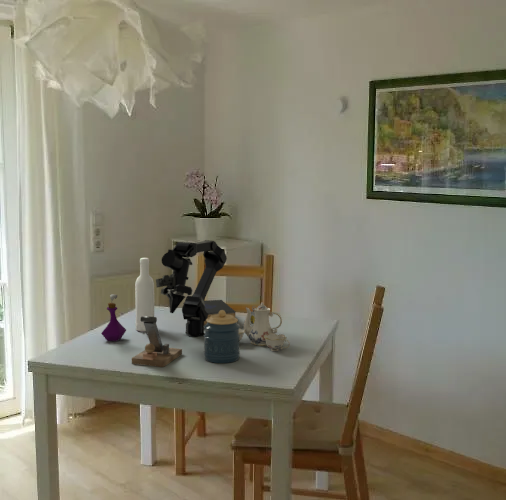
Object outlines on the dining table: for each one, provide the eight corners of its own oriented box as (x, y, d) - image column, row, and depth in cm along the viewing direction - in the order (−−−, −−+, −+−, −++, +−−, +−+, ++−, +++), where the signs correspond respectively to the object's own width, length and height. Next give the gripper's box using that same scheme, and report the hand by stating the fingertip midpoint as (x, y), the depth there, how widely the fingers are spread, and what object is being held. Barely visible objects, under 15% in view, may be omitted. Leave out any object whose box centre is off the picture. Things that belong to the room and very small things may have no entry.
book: (221, 313, 307) (221, 299, 306) (235, 326, 283) (235, 311, 283) (184, 315, 302) (184, 301, 301) (195, 329, 278) (196, 313, 278)
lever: (152, 347, 237) (142, 314, 228) (166, 348, 236) (156, 315, 226) (150, 351, 236) (140, 318, 226) (164, 353, 234) (153, 319, 225)
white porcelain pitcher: (236, 331, 274) (236, 307, 273) (243, 326, 282) (244, 303, 281) (254, 333, 271) (254, 309, 270) (261, 328, 279) (262, 305, 278)
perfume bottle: (119, 342, 255) (118, 297, 252) (101, 341, 256) (100, 296, 254) (126, 337, 262) (126, 293, 260) (109, 336, 264) (108, 292, 261)
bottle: (137, 332, 270) (136, 260, 266) (133, 327, 278) (133, 257, 274) (156, 331, 273) (156, 259, 269) (152, 326, 280) (152, 256, 276)
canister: (226, 366, 228) (226, 316, 226) (196, 359, 235) (196, 311, 233) (246, 356, 239) (247, 309, 237) (217, 351, 246) (217, 304, 243)
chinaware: (216, 349, 254) (215, 308, 250) (233, 334, 269) (232, 295, 265) (285, 358, 244) (285, 315, 240) (299, 342, 259) (299, 302, 255)
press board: (152, 351, 245) (152, 332, 244) (182, 354, 241) (182, 335, 240) (131, 363, 229) (131, 343, 228) (163, 367, 226) (163, 346, 225)
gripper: (152, 270, 260) (144, 309, 256) (169, 265, 243) (160, 307, 240) (178, 277, 264) (170, 315, 261) (196, 273, 248) (187, 314, 245)
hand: (171, 312), depth 251 cm, fingers closed
